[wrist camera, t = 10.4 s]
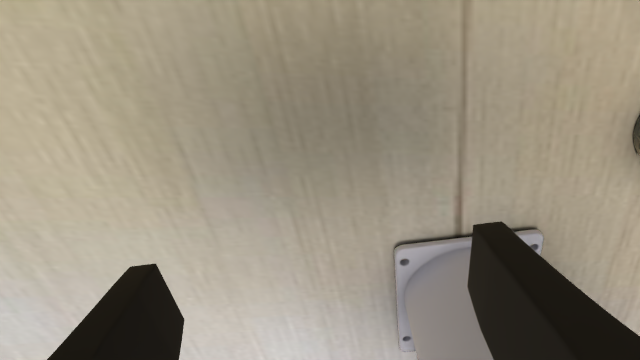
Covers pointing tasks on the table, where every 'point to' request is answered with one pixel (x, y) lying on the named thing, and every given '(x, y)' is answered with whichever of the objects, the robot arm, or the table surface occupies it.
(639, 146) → the tumbler
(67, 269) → the table surface
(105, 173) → the table surface
